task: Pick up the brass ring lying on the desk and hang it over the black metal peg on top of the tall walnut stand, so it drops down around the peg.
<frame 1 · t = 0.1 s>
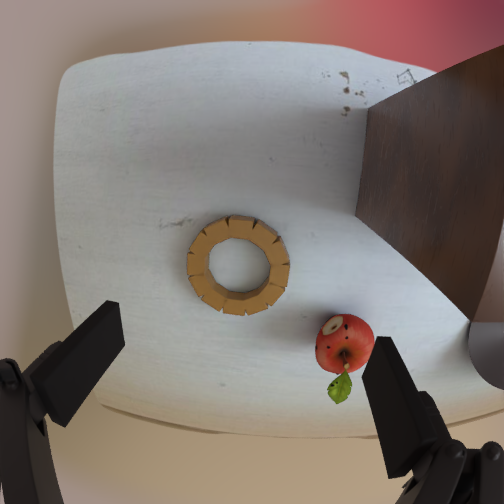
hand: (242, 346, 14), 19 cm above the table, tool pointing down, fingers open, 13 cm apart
apple: (338, 327, 34), on the table
stand: (411, 172, 28), on the table
ring: (239, 264, 33), on the table
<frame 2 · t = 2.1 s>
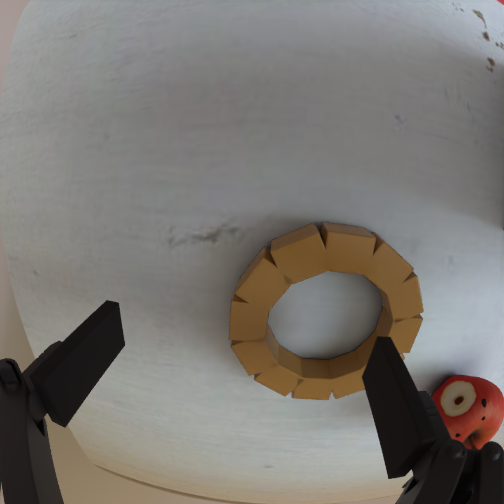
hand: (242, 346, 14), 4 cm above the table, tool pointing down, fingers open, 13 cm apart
apple: (446, 388, 18), on the table
ring: (326, 313, 17), on the table
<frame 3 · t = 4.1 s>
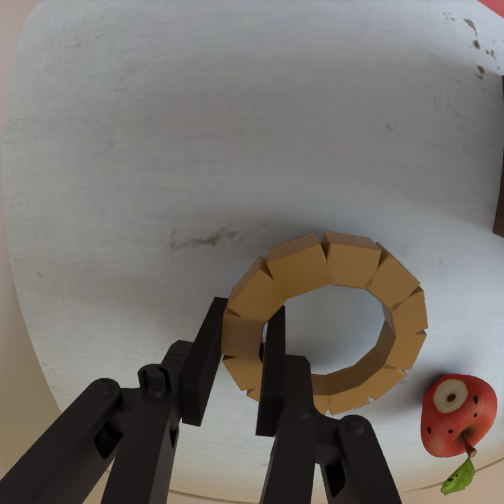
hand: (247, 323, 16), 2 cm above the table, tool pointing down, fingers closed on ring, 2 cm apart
apple: (439, 387, 19), on the table
ring: (324, 328, 16), point 2 cm above the table, touching gripper
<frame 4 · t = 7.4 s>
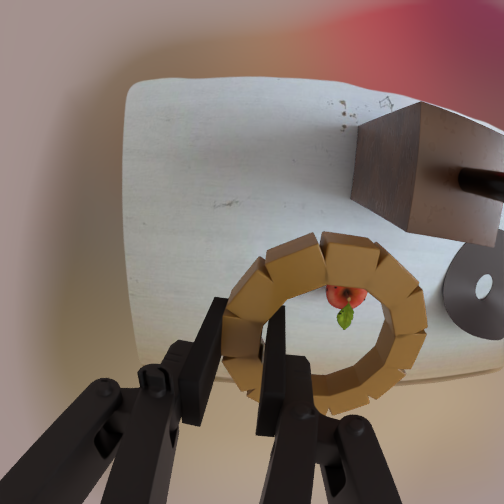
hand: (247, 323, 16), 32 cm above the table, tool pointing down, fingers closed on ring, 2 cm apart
apple: (341, 280, 48), on the table
post: (466, 179, 21), resting on stand
stand: (389, 168, 42), on the table
ring: (324, 328, 16), point 32 cm above the table, touching gripper
dark holed disc: (487, 275, 45), on the table
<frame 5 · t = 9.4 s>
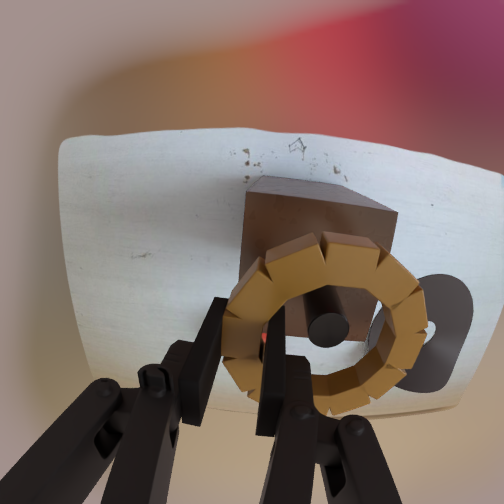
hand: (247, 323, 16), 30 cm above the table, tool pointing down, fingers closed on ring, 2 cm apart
post: (314, 275, 23), resting on stand
stand: (298, 219, 44), on the table
ring: (324, 328, 16), point 30 cm above the table, touching gripper
dark holed disc: (429, 321, 47), on the table
when the fingers open (26 cm above the table, at t = 11.0 s): ring drops 3 cm, resting on stand.
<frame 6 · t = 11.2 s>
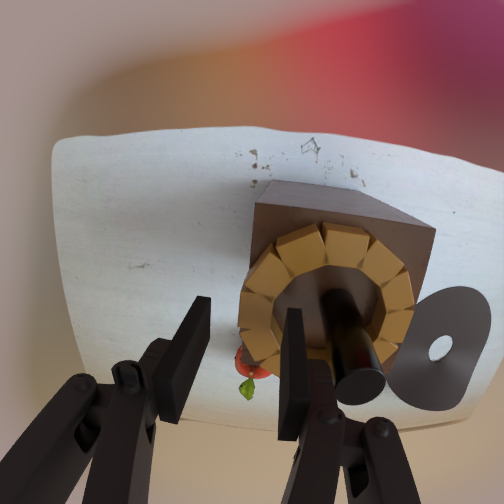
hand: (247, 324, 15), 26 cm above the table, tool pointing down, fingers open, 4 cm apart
apple: (260, 343, 46), on the table
post: (336, 304, 18), resting on stand
stand: (311, 228, 39), on the table
ring: (326, 305, 19), point 22 cm above the table, touching stand
dark holed disc: (446, 336, 42), on the table
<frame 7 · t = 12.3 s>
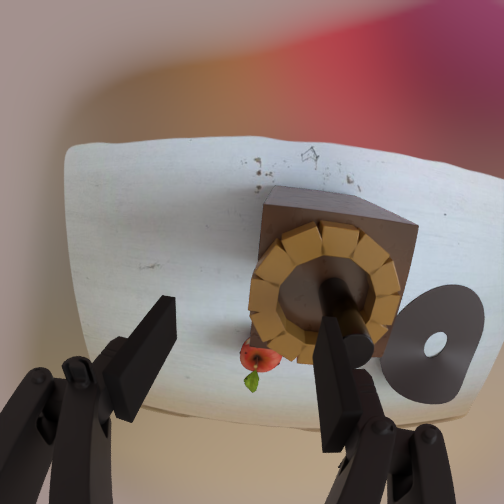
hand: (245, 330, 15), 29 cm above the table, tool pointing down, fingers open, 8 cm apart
apple: (264, 339, 49), on the table
post: (333, 291, 22), resting on stand
stand: (311, 230, 42), on the table
ring: (323, 292, 22), point 22 cm above the table, touching stand
dark holed disc: (440, 332, 45), on the table
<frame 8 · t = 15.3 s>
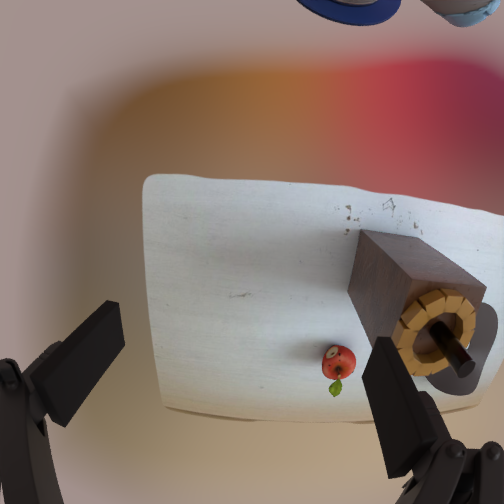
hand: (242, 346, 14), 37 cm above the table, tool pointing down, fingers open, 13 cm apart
apple: (335, 351, 56), on the table
post: (437, 329, 28), resting on stand
stand: (384, 265, 49), on the table
ring: (432, 330, 28), point 22 cm above the table, touching stand
dark holed disc: (465, 339, 53), on the table
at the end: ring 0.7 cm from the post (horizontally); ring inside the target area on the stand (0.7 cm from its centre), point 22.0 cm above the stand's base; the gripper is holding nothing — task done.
